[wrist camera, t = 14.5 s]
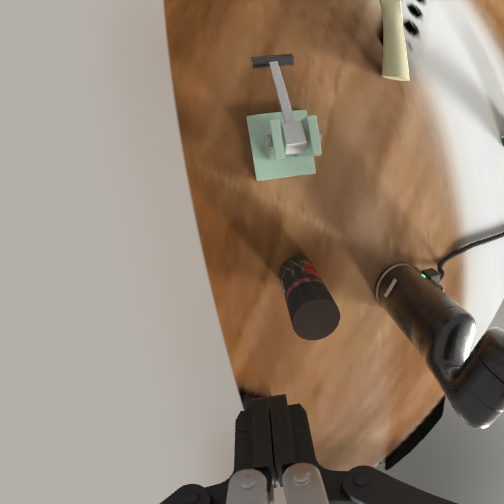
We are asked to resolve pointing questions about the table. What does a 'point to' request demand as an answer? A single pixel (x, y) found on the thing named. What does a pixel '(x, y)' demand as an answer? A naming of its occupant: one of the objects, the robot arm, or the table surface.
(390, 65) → the flower vase
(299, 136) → the lever
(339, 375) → the table surface
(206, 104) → the table surface
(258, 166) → the bracket
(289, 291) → the deodorant
